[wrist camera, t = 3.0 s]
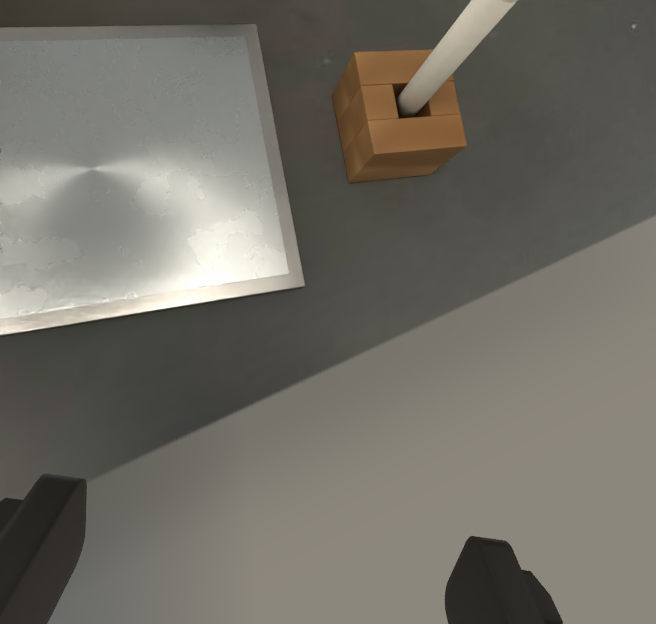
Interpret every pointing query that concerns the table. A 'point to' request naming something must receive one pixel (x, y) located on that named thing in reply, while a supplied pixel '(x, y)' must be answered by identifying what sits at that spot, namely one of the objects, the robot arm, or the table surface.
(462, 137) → the holder
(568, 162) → the table surface
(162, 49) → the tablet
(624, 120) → the table surface
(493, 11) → the stylus
